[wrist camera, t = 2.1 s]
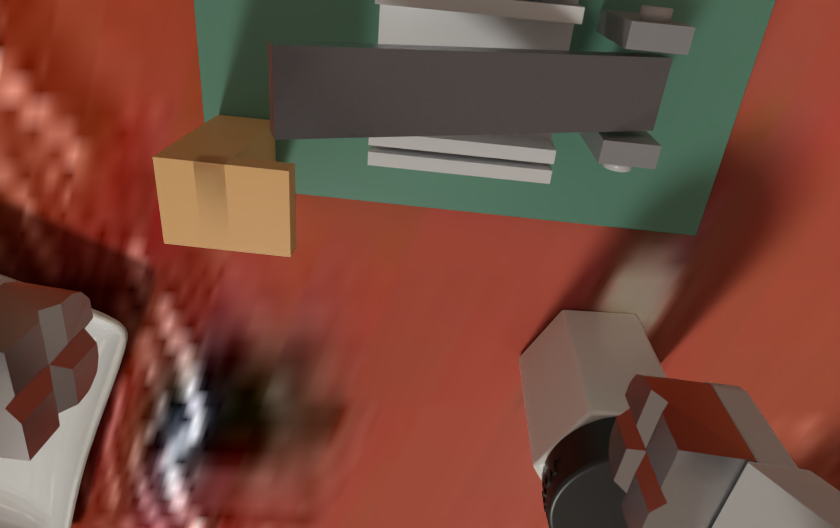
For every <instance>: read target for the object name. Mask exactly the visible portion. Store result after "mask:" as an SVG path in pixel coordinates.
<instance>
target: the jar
mask: <svg viewBox="0 0 840 528" xmlns="http://www.w3.org/2000/svg"><path fill="white" fill-rule="evenodd" d="M519 364H520V372H521V379H522V387H523V394H524V402H525V409H526V417H527V424H528V432H529V439H530V447H531V454H532V462H533V467H534V469H535V471H536V472H537V474H538V476H539V477H540V479H541V481H542V487H543V491H542V496H543V503H544V510H545V511H546V516H547V520H548V525H549V528H628V526H627V523H626V519H625V516H624V513H623V510H622V506H621V505H622V503H623V501H624V498H625V496H626V494H627V493H626V492H625V491H624V490H623V489H622V488H621V487H620V486H619V485H618V484H617V483H616V482H615V481H614V480H613V476H612V473H611V469H610V463H609V454H608V451H609V441H610V434H611V431H612V428H613V425H614V422H615V419H616V417H618V416H619V415H621V414H622V413H624V412H625V411H627V410H628V409H629V408H630V407H629V405H628V402H627V399H626V397H625V393H626V391H627V388H628V386H629V384H630V381H631V380H632V379H633V378H634V376H635V375H636V374H641V375H649V376H656V377H664V378H667V377H666V375H665V372H664V370H663V368H662V366H661V364H660V362H659V360H658V358H657V356H656V354H655V352H654V349H653V347H652V345H651V343H650V341H649V339H648V337H647V335H646V333H645V331H644V329H643V326H642V324H641V322H640V320H639V318H638V316H637V315H635V314H624V313H608V312H592V311H577V310H562V311H561V312H560V313H559V314H558V315H557V316H556V317H555V318H554V319H553V320H552V322H551V323H550V324H549V325H548V326H547V327H546V328H545V329H544V330H543V332H542V333H541V334H540V335H539V336H538V337H537V338H536V339H535V340H534V342H533V343H532V344H531V345H530V346H529V347H528V348H527V349H526V350H525V352H524V353H523V354H522V355H521V356H520V358H519Z"/></svg>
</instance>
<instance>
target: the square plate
mask: <svg viewBox="0 0 840 528" xmlns="http://www.w3.org/2000/svg"><path fill="white" fill-rule="evenodd" d="M0 279H5V280H10V281H18V280H16V279H13V278H10V277H7V276H4V275H2V274H0ZM18 282H21V281H18ZM91 309H92V308H91ZM92 314H93V319H92V320H91V321H90V323H89V324H88V325H87V326H86V328H85V330H86V331H87V332H88V333H89V334H90V335H91V336H92V338H93V339H94V340H95V341H96V342H97V347H98V354H99V359H98V368H97V373H96V376H95V378H94V381H93V383H92V386H91V388H90V390H89V392H88V393H87V394H86V395H85V397H84V398H83V399H82V400H81V402H80V403H79V404H78V405H76V406H73V407H71V408H69V409H67V410H65V411H63V412H61V413H58V415H59V422H60V427H59V428H58V429H57V430H56V431H55V432H54V434H53V435H52V436H51V437H50V438H49V440H48V441H47V442H46V443H45V444H44V445H43V447H42V448H41V449H40V450H39V451H38V452H37V454H36V455H35V456H34V457H33V458H32V459H31V461H25V460H16V459H7V458H0V528H71V524H72V519H73V515H74V510H75V505H76V501H77V497H78V492H79V488H80V484H81V480H82V476H83V473H84V469H85V465H86V462H87V458H88V455H89V452H90V449H91V446H92V443H93V440H94V437H95V434H96V431H97V428H98V425H99V423H100V420H101V417H102V414H103V412H104V409H105V406H106V403H107V401H108V398H109V395H110V392H111V390H112V387H113V384H114V381H115V379H116V376H117V373H118V370H119V368H120V365H121V361H122V358H123V355H124V352H125V348H126V344H127V340H128V332H127V330H126V328H125V327H124V326H123V324H121V323H120V322H119V321H118V320H116V319H114V318H112V317H110V316H108V315H106V314H104V313H102V312H100V311H97V310H95V309H92Z"/></svg>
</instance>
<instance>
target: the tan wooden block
mask: <svg viewBox="0 0 840 528" xmlns="http://www.w3.org/2000/svg"><path fill="white" fill-rule="evenodd" d="M153 163H154V171H155V178H156V186H157V193H158V201H159V209H160V216H161V224H162V231H163V239H164V243H165V244H174V245H183V246H192V247H202V248H211V249H220V250H230V251H239V252H248V253H257V254H267V255H276V256H285V257H291V256H292V254H293V252H294V250H295V249H296V193H295V164H294V163H284V162H276V148H275V139H274V137H273V135H272V133H271V132H270V120H266V119H256V118H246V117H237V116H227V115H217V116H215V117H213V118H212V119H210V120H209V121H207V122H206V123H204V124H203V125H201V126H200V127H198V128H197V129H195V130H193V131H192V132H190V133H189V134H187V135H186V136H184V137H183V138H181V139H180V140H178V141H176V142H175V143H173V144H172V145H170V146H169V147H167V148H166V149H164V150H163V151H161V152H160V153H158V154H156V155H155V156H153Z"/></svg>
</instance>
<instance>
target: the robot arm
mask: <svg viewBox="0 0 840 528" xmlns="http://www.w3.org/2000/svg"><path fill="white" fill-rule="evenodd" d="M92 319H93V314H92V309H91V303H90V299H89V298H88V297H87V296H86V295H84V294H83V293H82V292H78V291H72V290H66V289H60V288H54V287H48V286H42V285H36V284H30V283H24V282H18V281H10V280H5V279H0V458H7V459H16V460H25V461H31V459H32V458H33V457H34V456H35V455H36V454H37V452H38V451H39V450H40V449H41V448H42V447H43V445H44V444H45V443H46V442H47V441H48V440H49V438H50V437H51V436H52V435H53V434H54V432H55V431H56V430H57V429H58V428H59V427H60V422H59V415H58V413H61V412H63V411H65V410H67V409H69V408H71V407H73V406H76V405H78V404H79V403H80V402H81V400H82V399H83V398H84V397H85V395H86V394H87V393H88V392H89V390H90V388H91V386H92V383H93V381H94V378H95V376H96V373H97V368H98V359H99V354H98V347H97V342H96V341H95V340H94V339H93V338H92V336H91V335H90V334H89V333H88V332H87V331H86V330H85V328H86V326H87V325H88V324H89V323H90V321H91V320H92ZM625 397H626V399H627V402H628V405H629V407H630V408H629V409H628V410H627V411H625V412H624V413H622V414H621V415H619V416H618V417H616V419H615V422H614V425H613V428H612V431H611V434H610V441H609V451H608V454H609V463H610V469H611V473H612V476H613V480H614V481H615V482H616V483H617V484H618V485H619V486H620V487H621V488H622V489H623V490H624V491H625V492H626V493H627V494H626V496H625V498H624V501H623V503H622V505H621V506H622V510H623V513H624V516H625V519H626V523H627V526H628V528H840V491H839V490H837V489H836V488H835V487H833V486H832V485H830V484H829V483H827V482H826V481H825V480H823V479H822V478H820V477H819V476H817V475H816V474H815V473H813V472H812V471H810V470H804V469H799V468H798V467H797V465H796V464H795V462H794V461H793V459H792V458H791V456H790V455H789V453H788V452H787V451H786V449H785V448H784V446H783V445H782V443H781V442H780V440H779V439H778V437H777V436H776V434H775V433H774V431H773V430H772V428H771V427H770V425H769V424H768V422H767V421H766V419H765V418H764V416H763V415H762V413H761V412H760V411H759V409H758V408H757V406H756V405H755V403H754V402H753V400H752V399H751V397H750V396H749V394H748V393H747V391H745V390H744V389H742V388H740V387H739V386H734V385H726V384H717V383H708V382H704V383H701V382H694V381H686V380H679V379H671V378H664V377H656V376H649V375H641V374H636V375H635V376H634V378H633V379H632V380H631V381H630V384H629V386H628V388H627V391H626V393H625Z"/></svg>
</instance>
